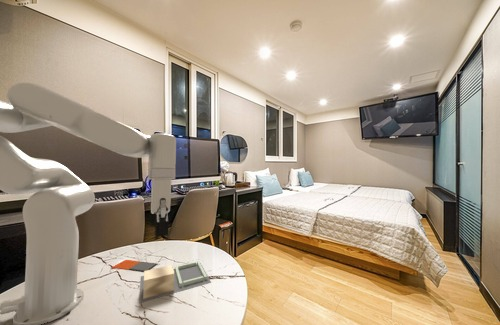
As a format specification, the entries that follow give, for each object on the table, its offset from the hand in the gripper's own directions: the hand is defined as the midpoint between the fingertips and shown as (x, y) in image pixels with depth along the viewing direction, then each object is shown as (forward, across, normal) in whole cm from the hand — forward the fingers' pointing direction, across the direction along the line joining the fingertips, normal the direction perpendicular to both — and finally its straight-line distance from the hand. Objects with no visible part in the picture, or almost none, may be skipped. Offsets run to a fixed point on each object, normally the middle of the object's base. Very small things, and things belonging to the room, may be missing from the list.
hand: (160, 230), depth 57 cm
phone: (+19, -19, -7) cm, 28 cm away
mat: (+18, -3, +5) cm, 19 cm away
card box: (+18, 0, 0) cm, 18 cm away
